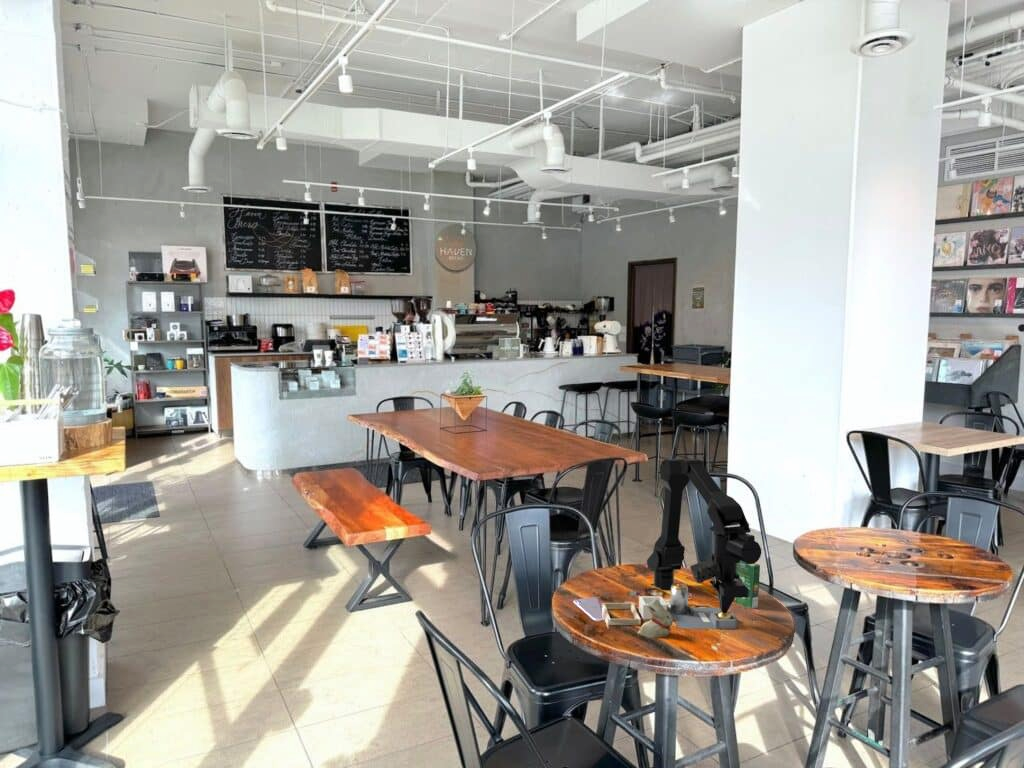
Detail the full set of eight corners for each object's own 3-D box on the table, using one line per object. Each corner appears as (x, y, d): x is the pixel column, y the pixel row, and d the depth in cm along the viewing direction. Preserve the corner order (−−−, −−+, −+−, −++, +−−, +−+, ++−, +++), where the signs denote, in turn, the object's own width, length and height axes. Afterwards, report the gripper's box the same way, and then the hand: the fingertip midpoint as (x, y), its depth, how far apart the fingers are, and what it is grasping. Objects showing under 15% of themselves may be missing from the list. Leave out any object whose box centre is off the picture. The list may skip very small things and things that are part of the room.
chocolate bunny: (664, 646, 172) (665, 606, 171) (634, 638, 177) (635, 598, 176) (674, 639, 176) (674, 599, 176) (645, 631, 181) (645, 592, 180)
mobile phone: (594, 619, 187) (571, 598, 201) (594, 622, 187) (571, 602, 201) (621, 615, 189) (596, 595, 203) (621, 619, 189) (596, 599, 204)
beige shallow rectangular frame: (602, 612, 193) (602, 602, 193) (632, 612, 193) (632, 602, 193) (608, 629, 182) (608, 619, 182) (640, 629, 182) (640, 619, 182)
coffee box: (759, 611, 194) (761, 564, 193) (752, 613, 193) (753, 565, 192) (737, 601, 201) (738, 555, 200) (729, 603, 200) (730, 557, 199)
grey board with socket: (664, 611, 194) (664, 600, 193) (721, 611, 194) (721, 600, 194) (677, 633, 180) (677, 620, 179) (738, 633, 180) (738, 620, 180)
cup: (638, 614, 191) (639, 596, 191) (661, 614, 192) (661, 596, 191) (643, 623, 185) (643, 604, 185) (666, 623, 186) (666, 604, 185)
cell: (668, 608, 193) (669, 581, 192) (685, 608, 193) (685, 581, 192) (672, 614, 188) (673, 587, 188) (689, 614, 188) (689, 587, 188)
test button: (715, 619, 184) (716, 610, 184) (728, 619, 184) (728, 609, 184) (719, 624, 181) (719, 614, 181) (732, 624, 181) (732, 614, 181)
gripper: (684, 541, 191) (683, 598, 192) (704, 563, 172) (702, 627, 173) (726, 541, 191) (724, 598, 192) (750, 563, 172) (748, 627, 173)
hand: (724, 612), depth 182 cm, fingers closed, pressing on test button
